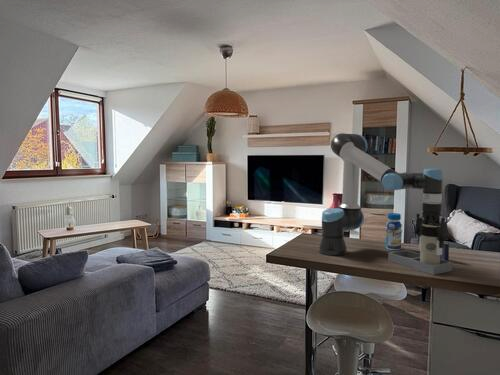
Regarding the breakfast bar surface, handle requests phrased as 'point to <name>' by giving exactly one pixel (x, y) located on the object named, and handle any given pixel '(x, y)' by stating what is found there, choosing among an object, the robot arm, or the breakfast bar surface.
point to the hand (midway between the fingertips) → (430, 252)
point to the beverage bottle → (393, 232)
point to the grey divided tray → (418, 262)
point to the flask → (445, 252)
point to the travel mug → (429, 245)
